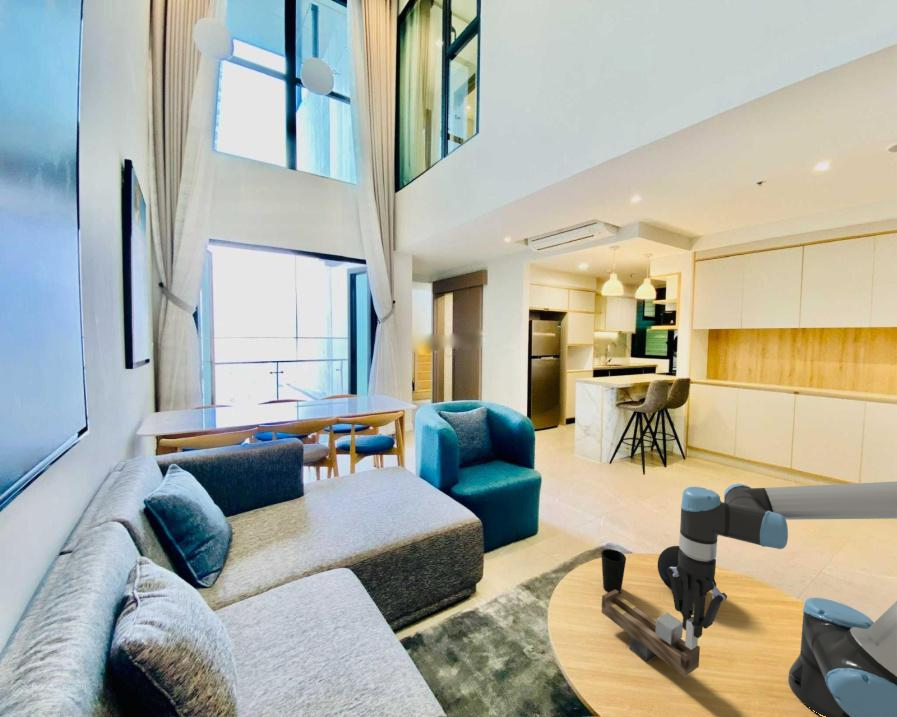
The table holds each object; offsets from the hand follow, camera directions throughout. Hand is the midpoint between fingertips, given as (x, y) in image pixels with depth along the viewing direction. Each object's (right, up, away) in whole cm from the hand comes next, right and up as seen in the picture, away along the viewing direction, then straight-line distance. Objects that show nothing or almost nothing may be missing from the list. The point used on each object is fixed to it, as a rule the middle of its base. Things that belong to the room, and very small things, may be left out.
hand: (691, 645), depth 92 cm
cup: (-4, -8, +36) cm, 37 cm away
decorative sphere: (+19, -9, +35) cm, 41 cm away
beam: (-6, -10, +11) cm, 16 cm away
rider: (-3, -4, +5) cm, 7 cm away
